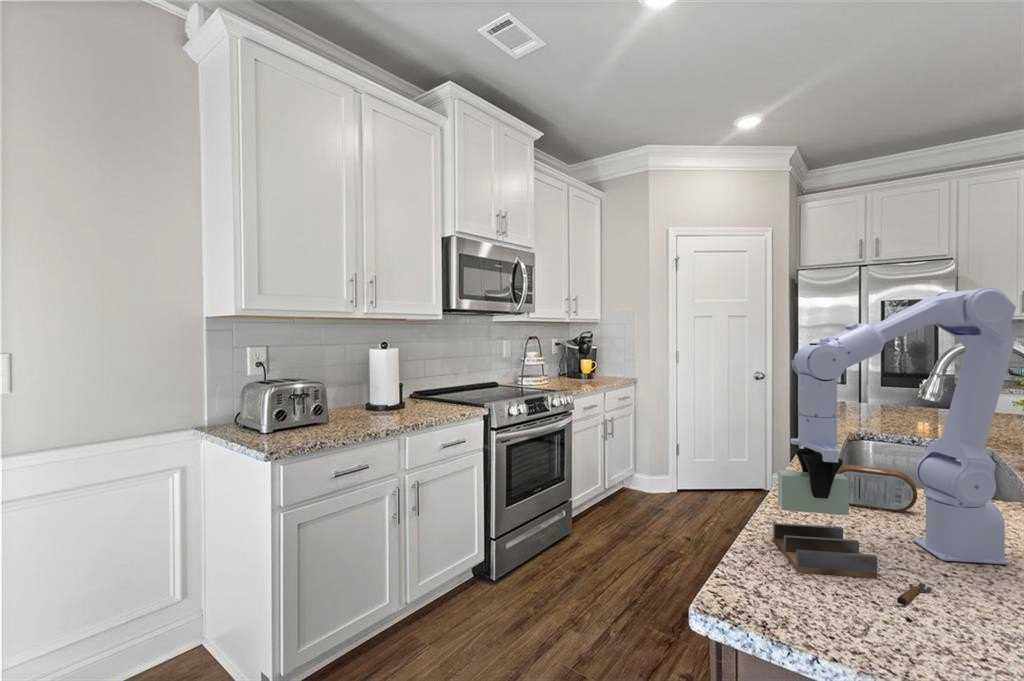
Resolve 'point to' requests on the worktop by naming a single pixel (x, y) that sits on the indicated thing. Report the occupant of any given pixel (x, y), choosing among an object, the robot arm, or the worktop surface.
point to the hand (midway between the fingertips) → (817, 494)
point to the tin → (879, 488)
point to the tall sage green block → (800, 498)
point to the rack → (823, 550)
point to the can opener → (912, 593)
